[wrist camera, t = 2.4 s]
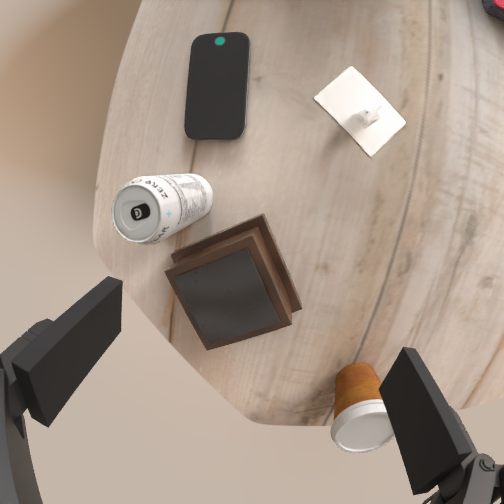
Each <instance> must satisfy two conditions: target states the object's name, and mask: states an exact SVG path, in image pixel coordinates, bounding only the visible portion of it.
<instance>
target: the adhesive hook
mask: <svg viewBox="0 0 504 504" xmlns="http://www.w3.org/2000/svg"><path fill="white" fill-rule="evenodd" d="M382 108H383V105H382V104H381V105H379V106H378V107H377V108H374V107H373V108H372V109H368V108H366V107H364V108H363V109H361V110H359V111H358V112H356V113H354V114H353V116H354V117H356V118H357V119H359V120H360V121H362V122H360V123H359V124H360V125H361V126H362V128H363V129H367V128H368V127H370V126H371V125H373V124H376V123H377V122H379V121H380V120H381V118H382V112H381V111H379V110H380V109H382Z"/></svg>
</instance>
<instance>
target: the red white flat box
mask: <svg viewBox="0 0 504 504" xmlns="http://www.w3.org/2000/svg"><path fill="white" fill-rule="evenodd" d="M482 3H483V6H484V9H485V11H486V13H488V14H490V15H492V16H494V17H496V18H498V19H500V20H503V21H504V0H482Z"/></svg>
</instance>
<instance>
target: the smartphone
mask: <svg viewBox="0 0 504 504" xmlns="http://www.w3.org/2000/svg"><path fill="white" fill-rule="evenodd" d="M249 58H250V40H249V37H248V36H247V35H246V34H244V33H241V32H227V33H212V34H204V35H200V36H198V37H196V39H195V40H194V41H193V43H192V46H191V55H190V64H189V74H188V85H187V97H186V110H185V125H184V127H185V132H186V135H187V136H188V137H189V138H191V139H194V140H235V139H238V138H240V137H241V136H242V135H243V133H244V130H245V126H246V109H247V91H248V74H249Z"/></svg>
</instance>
